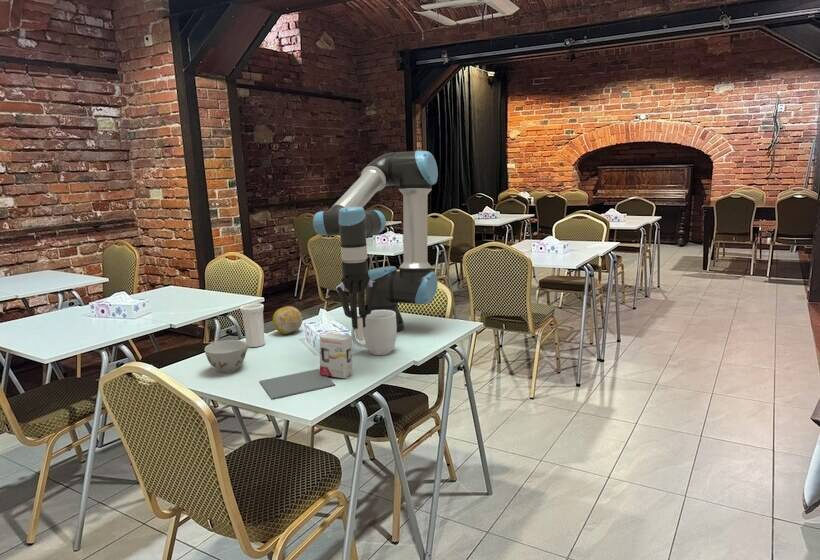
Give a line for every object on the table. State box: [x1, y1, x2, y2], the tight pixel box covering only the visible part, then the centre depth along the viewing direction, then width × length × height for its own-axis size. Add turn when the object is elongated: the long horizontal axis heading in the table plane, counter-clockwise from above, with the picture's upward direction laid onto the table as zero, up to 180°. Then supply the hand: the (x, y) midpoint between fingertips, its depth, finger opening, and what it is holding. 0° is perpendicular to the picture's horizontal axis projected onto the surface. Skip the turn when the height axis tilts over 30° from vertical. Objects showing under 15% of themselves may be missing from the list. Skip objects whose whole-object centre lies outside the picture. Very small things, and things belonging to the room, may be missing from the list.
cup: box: [239, 303, 266, 348], centre depth 203 cm, size 8×8×14 cm
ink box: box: [319, 332, 353, 379], centre depth 170 cm, size 9×5×12 cm, turn 68°
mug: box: [350, 310, 398, 356], centre depth 189 cm, size 15×11×13 cm
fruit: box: [272, 305, 303, 335], centre depth 216 cm, size 10×11×10 cm
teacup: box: [204, 339, 249, 374], centre depth 181 cm, size 15×12×8 cm
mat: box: [259, 368, 336, 400], centre depth 166 cm, size 18×15×1 cm
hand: (359, 338), depth 173 cm, fingers closed
